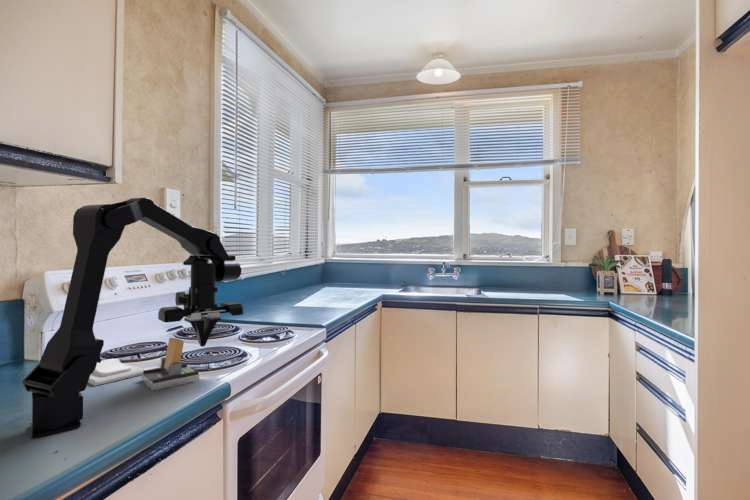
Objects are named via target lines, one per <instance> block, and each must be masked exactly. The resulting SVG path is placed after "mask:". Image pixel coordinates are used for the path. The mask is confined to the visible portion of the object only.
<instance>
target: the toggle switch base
mask: <svg viewBox="0 0 750 500" xmlns="http://www.w3.org/2000/svg"><path fill="white" fill-rule="evenodd" d="M165 358H166V356H164V357H160V367H157V368H151V369H144V371H143V374H142V375H141V381H142V382H143V383H144V384H145V385H146V386H147V387H148V388H149V389H150V390H151V391H157V390H161V389H165V388H170V387H171V388H172V387H175V386H179V385H184V384H190V383H193V382H194V383H195V382H199V381H200V373H199V370H194V369H193V368H191V367H190V366H188V363H186V362H184V363H183V362H181V361H180V362H178V363H173V364H169V372H168V371H167V370H166V369H165V368H164V363H165Z"/></svg>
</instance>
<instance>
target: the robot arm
mask: <svg viewBox="0 0 750 500" xmlns="http://www.w3.org/2000/svg"><path fill="white" fill-rule="evenodd" d="M138 221H141V222H142V223H144V224H146V225H148V226H150V227H152V228H154V229H155V230H158V231H160V232H162V233H163V234H165V235H167V236H168V237H171V238H172V239H174V240H176V241H177V242H178V243H179V244H180V246H181V248H182V249H183V250H184V251H186V252H187V253H189V254H190V255H189V257H188V258H186V259H184V261H183V262H182V265H184V266H190V286H189V288H188V293H186V292H185V291H178V292H177V291H176V293H175V297H174V298H175V300H174V301H175V306H166V307H165V306H164V307H161V308H159V310H158V314H157V315H158V317H157V320H159V321H161V322H163V323H174V322H175V323H177V322H181V321H182V320H183V319H184V322H187V323H190V325H191V326H192V327H191V328H192V329H193V330H194V333H195V336H196V338H197V341H198V344H199V346H200V347H205V346H206V344H207V342H208V340H209V338H210V337H211V333H212V332H213V330H214V328H215V326H216V325H217V323H218V321H221V320H222V317H220V314H227V313H229V314H230V315H231V316H232V317H234V316H243V315H244V306H243V304H242V303H240V302H236V301H229V302H228V301H227V302H221V303H220V305H218V304H217V303H216V295H217V294H216V293H217V292H218V287H217V285H216V284H217V283H220V282H231V281H232V282H233V281H237V280H238V279H239V278H240V277H241V275H242V267H241V264H240V263H239V261H237V260H236V255H229V254H228V253H227V250H226V249H225V247H224V245H223V243H222V241H221V236H219V235H218V234H217V233H216V232H213V231H211V230H208V229H203V228H200V227H196V226H193V225H191V224H189V223H188V222H186V221H184V220H183V219H181V218H180V217H178V216H176V215H174V214H172V213H171V212H170V211H167V210H166V209H165V208H163V207H161V206H159V205H158V204H156V203H155V202H154V201H153V200H152V199H150V198H148V197H131V198H128V199H127V200H123V201H120V202H114V203H110V204H109V203H107V204H106V203H105V204H86V205H83V206H81V207H79V208H77V209H76V210H75V212H74V214H73V219H72V236H73V239H74V242H75V244H76V249H77V251H76V254H75V260H74V264H73V269H72V273H71V277H70V281H69V282H70V283H69V286H68V291H67V294H66V295H67V296H66V298H65V305H64V308H63V312H62V317H61V322H60V326H59V328H58V329H57V330H56V332H55V333H54V334H53V336H52V337H51V338H50V339H49V340H48V342H47V343H46V346H45V348H44V350H43V353H42V356H41V357H40V361H39V362H38V364H37V365H36V366H35V367H34V368H33V369H32V371H30V372H29V373H28V375H26V377H24V379H23V380H22V381H21V384H22V386H23V387H24V389H25V391H26V392H28V393H31V420H30V421H31V422H30V423H29V429H30V437H31V438H32V439H33V438H34V439H35V438H39V437H43V436H47V435H52V434H56V433H59V432H64V431H68V430H73V429H77V428H80V427H81V426H82V423H81V421H82V420H83V419H84V396H83V394H82V392H84V391H86V388H87V385H88V384H89V383H88V380H89V378H90V375H91V374H92V373H93V372H94V370H95V368H96V365H97V363H101V361H102V360H101V355H102V354H101V353H102V350H103V348H104V345H105V344H104V339H100V338H96V336H95V333H94V324H95V320H96V319H95V318H96V314H97V310H98V307H99V306H98V305H99V300H100V296H101V290H102V286H103V281H104V277H105V272H106V269H107V264H108V259H109V258H108V257H109V255H110V252H111V251H112V250H113V248H114V247H115V246H116V245H117V244H118V242H119V241H120V239H121V238H122V235H123V233H124V230H125V227H126V226H129V225H132V224H134V223H137V222H138ZM216 282H217V283H216ZM181 306H183V308H181Z"/></svg>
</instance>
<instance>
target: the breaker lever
mask: <svg viewBox="0 0 750 500" xmlns="http://www.w3.org/2000/svg"><path fill="white" fill-rule="evenodd" d="M184 343H185V341H184V340H182V339H180V338H178V337H169V340H168V344H167V348H166V353H165V354H166V355H165V357H166V358H165V363H164V368H165V369H166V370H167V371H168V372H169V364H173V363H178V362H181V358H182V353H183V349H184Z"/></svg>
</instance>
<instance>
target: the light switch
mask: <svg viewBox="0 0 750 500" xmlns="http://www.w3.org/2000/svg"><path fill="white" fill-rule="evenodd" d="M144 370H145V368H141V367H137V366H135V365H130V364H127V363H122V361H120V359H117V358H108V359H104V360H101V363H97V365H96V368H95V370H94V372H93V373H92V374H91V375H90V378H89V380H88V383H87V384H90V385H92V386H95V387H96V386H99V385H104V384H108V383H113V382H116V381H121V380H125V379H129V378H134V377H137V376H142V374H143V371H144Z"/></svg>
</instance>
